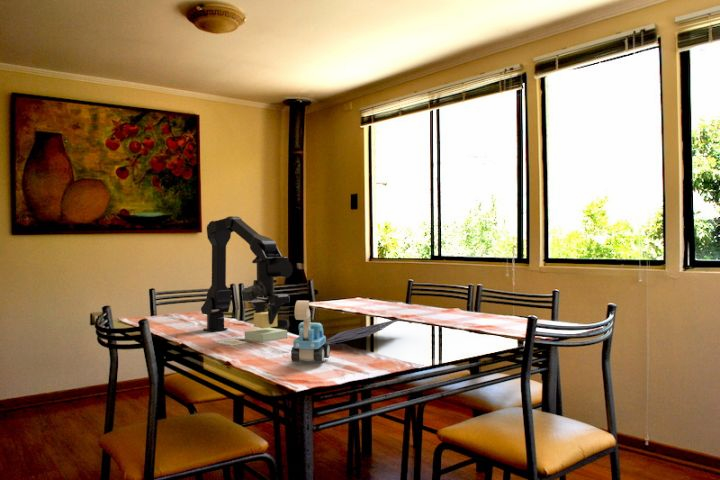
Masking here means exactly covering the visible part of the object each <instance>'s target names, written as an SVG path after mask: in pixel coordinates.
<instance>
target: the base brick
mask: <svg viewBox="0 0 720 480" xmlns="http://www.w3.org/2000/svg"><path fill="white" fill-rule="evenodd" d="M248 339H249V340H250V341H255V342H258V343H259V342H260V343H266V342H268V343H269V342H272V341H278V340H283V339H288V329H283V328H282V329H275V328H271V327H269V328H257V329H251V330H244V340H248Z"/></svg>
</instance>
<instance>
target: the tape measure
mask: <svg viewBox="0 0 720 480" xmlns="http://www.w3.org/2000/svg"><path fill="white" fill-rule="evenodd" d="M290 326H291V322H290V320H288V319H286V318H277V326H275V327H270V328H275V329H282V330H285V329H287V328H289V327H290Z"/></svg>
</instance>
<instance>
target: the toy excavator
mask: <svg viewBox="0 0 720 480" xmlns="http://www.w3.org/2000/svg"><path fill="white" fill-rule="evenodd" d="M309 307H310V300H296V302H295V305H294V318H295V320H296V321H297V320H298V321H302V322H300V323H299V324H298V332H299V333H298V337H296V338H295V339H293V341H292V342H293V343H292V345H293V346H292V347H291V350H290V352H291V353H290V360H291V362H292V363H299V362H300V360H301V361H314V363H323V362H324V361H325V359H329V358H330V353H331V349H330V348H331V346H330V345H331V344H330V345H329V344H328V343H326V340H327V337H326V335H324V328H323V327H324V326H323V324H322V323H320V322H311V310H310V308H309Z"/></svg>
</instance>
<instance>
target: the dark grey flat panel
mask: <svg viewBox="0 0 720 480" xmlns="http://www.w3.org/2000/svg"><path fill="white" fill-rule="evenodd" d="M400 320H401V318H399V319H398V318H397V319H394V320H390V321H385V322H381V323H376V324H371V325H367V326H363V327H358V328H354V329H349V330H343V331H340V332H337V333H336V334H334V335H333V336H331V337H329V338H328V339H326V343H328V344H330V345H332V344H341V343H344V342H345V343H346V342H350V341H354V340H360V339H364V338H366V337H369V336H371V335H372V334H376V333H378V332H380V331H382V330H384V329H385V328H387V327H388V326H390V325H392V324H394V323H395V322H398V321H400Z"/></svg>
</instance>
